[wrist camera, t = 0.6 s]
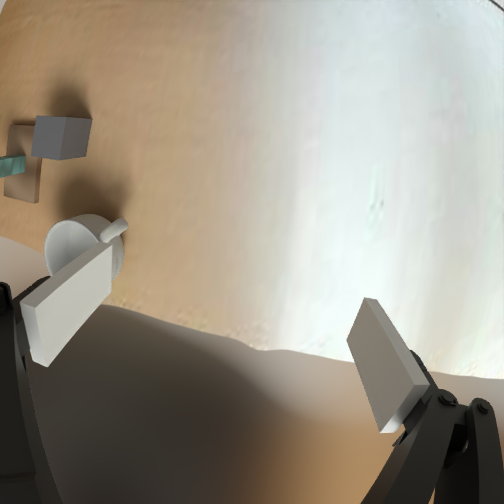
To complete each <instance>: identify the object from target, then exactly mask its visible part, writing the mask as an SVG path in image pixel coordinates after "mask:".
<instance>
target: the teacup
mask: <svg viewBox="0 0 504 504" xmlns="http://www.w3.org/2000/svg"><path fill="white" fill-rule="evenodd" d="M127 228H128V223H127V221H126V220H125V219H124V218H123V217H121V218H119V219H117V220H115V221H114V222H112V223H111V222H110V221H108V220H107V219H105V218H104V217H102V216H99V215H95V214H83V215H79V216H76V217H73V218H70V219H65V220H62V221H59V222H57V223H56V224H54V225H53V226H52V227H51V229H50V230H49V232H48V234H47V236H46V239H45V244H44V257H45V262H46V265H47V268H48V271H49V273H50V276H53V275H54V274H55V273H57V272H58V271H59V270H61V269H62V268H63V267H65V266H66V265H67V264H69V263H70V262H71V261H73V260H74V259H76V258H77V257H78V256H80V255H81V254H83V253H84V252H85V251H87V250H88V249H90V248H91V247H92V246H94V245H95V244H97V243H98V242H100V241H101V242H105V243H109V244H112V271H111V282H112V281H113V280H114V279H115V278H116V276H117V275H118V274H119V272H120V270H121V268H122V265H123V261H124V246H123V242H122V239H121V236H120V234H121V233H122V232H123V231H124V230H126V229H127Z"/></svg>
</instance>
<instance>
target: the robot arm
mask: <svg viewBox="0 0 504 504" xmlns="http://www.w3.org/2000/svg"><path fill="white" fill-rule="evenodd" d="M111 271H112V244H109V243H105V242H101V241H100V242H98V243H97V244H95V245H94V246H92V247H91V248H90V249H88V250H87V251H85V252H84V253H83V254H81V255H80V256H78V257H77V258H76V259H74V260H73V261H71V262H70V263H69V264H67V265H66V266H65V267H63V268H62V269H61V270H59V271H58V272H57V273H55V274H54V275H53V276H46V277H44V278H41V279H39V280H37V281H36V282H35V283H33V284H32V286H29V287H28V288H27V289H26V290H24V291H23V292H22V293H20V294H19V295H18V296H17V297H15V298H14V299H13V300H12V296H11V290H10V286H9V285H8V284H6V283H4V282H0V504H64V503H63V501H62V498H61V496H60V493H59V491H58V488H57V486H56V483H55V480H54V477H53V474H52V472H51V469H50V466H49V462H48V459H47V456H46V453H45V449H44V446H43V442H42V438H41V435H40V431H39V427H38V423H37V418H36V414H35V409H34V404H33V399H32V393H31V388H30V382H29V375H28V368H27V361H26V357H25V354H26V353H27V352H28V351H29V350H30V352H31V355H32V359H33V361H35V362H37V363H39V364H41V365H43V366H46V367H48V366H49V365H50V363H51V362H52V361H53V360H54V358H55V357H56V356H57V355H58V353H59V352H60V351H61V350H62V348H63V347H64V346H65V345H66V343H67V342H68V341H69V340H70V338H71V337H72V336H73V335H74V334H75V333H76V331H77V330H78V329H79V328H80V327H81V325H82V324H83V323H84V322H85V321H86V320H87V318H88V317H89V316H90V315H91V314H92V313H93V312H94V310H95V309H96V308H97V307H98V306H99V305H100V304H101V302H102V301H103V300H104V299H105V298H106V297H107V296H108V295H109V294H110V292H111ZM346 341H347V343H348V346H349V348H350V351H351V354H352V356H353V359H354V361H355V364H356V367H357V369H358V372H359V375H360V378H361V380H362V383H363V386H364V389H365V391H366V394H367V397H368V400H369V403H370V405H371V408H372V411H373V414H374V417H375V420H376V423H377V426H378V429H379V432H380V433H390V432H396V431H397V429H398V428H399V427H400V426H401V424H402V423H403V424H404V427H405V429H406V430H405V431H404V432H403V433H402V435H401V436H400V437H399V438H398V439H397V440H396V442H395V443H394V444H393V445H392V446H393V447H394V446H395V445H396V446H395V448H394V449H393V452H392V453H391V455H390V457H389V459H388V460H387V462H386V464H385V466H384V467H383V469H382V471H381V472H380V474H379V476H378V478H377V479H376V481H375V482H374V484H373V486H372V487H371V489H370V490H369V492H368V493H367V495H366V496H365V498H364V499H363V501H362V502H361V504H428V503H429V501H430V499H431V496H432V493H433V491H434V488H435V495H434V503H433V504H504V469H503V460H502V453H501V446H500V441H499V434H498V428H497V424H496V418H495V414H494V410H493V408H492V406H491V405H490V403H489V402H487V401H486V400H484V399H482V398H475V399H474V400H473V401H472V402H471V404H470V405H469V406H465V405H461V404H458V401H457V399H456V397H455V396H454V395H453V394H452V393H450V392H449V391H446V390H444V389H438V387H437V385H436V384H435V382H434V380H433V378H432V377H431V375H430V374H429V372H428V371H427V369H426V367H425V366H424V364H423V362H422V361H421V359H420V357H419V356H418V355H417V354H416V353H414V352H413V351H412V350H409V349H408V347H407V346H406V344H405V342H404V341H403V339H402V338H401V336H400V334H399V333H398V331H397V330H396V328H395V327H394V325H393V323H392V322H391V320H390V319H389V317H388V316H387V314H386V313H385V311H384V310H383V308H382V307H381V305H380V304H379V302H378V301H377V300H376V299H371V298H365V297H364V300H363V302H362V305H361V307H360V309H359V312H358V314H357V317H356V319H355V321H354V324H353V326H352V328H351V331H350V333H349V335H348V338H347V340H346ZM466 447H467V449H466Z"/></svg>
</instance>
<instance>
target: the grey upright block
mask: <svg viewBox="0 0 504 504" xmlns="http://www.w3.org/2000/svg"><path fill="white" fill-rule="evenodd" d="M91 124H92V119H87V118H75V117H61V116H37V117H36V122H35V128H34V135H33V142H32V150H31V156H34V157H41V158H47V159H54V160H65V159H71V158H78V157H85V156H86V152H87V146H88V140H89V134H90V129H91Z"/></svg>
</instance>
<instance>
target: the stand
mask: <svg viewBox="0 0 504 504" xmlns="http://www.w3.org/2000/svg"><path fill="white" fill-rule="evenodd" d="M34 128H35V126H31V125H10V128H9V135H8V143H7V152H6V156H3V157H0V178H2V177H4V196H6V197H10V198H14V199H18V200H22V201H26V202H29V203H33V204H34V203H37V202H38V201H39V185H40V173H41V163H42V158H41V157H34V156H31V150H32V142H33V135H34Z"/></svg>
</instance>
